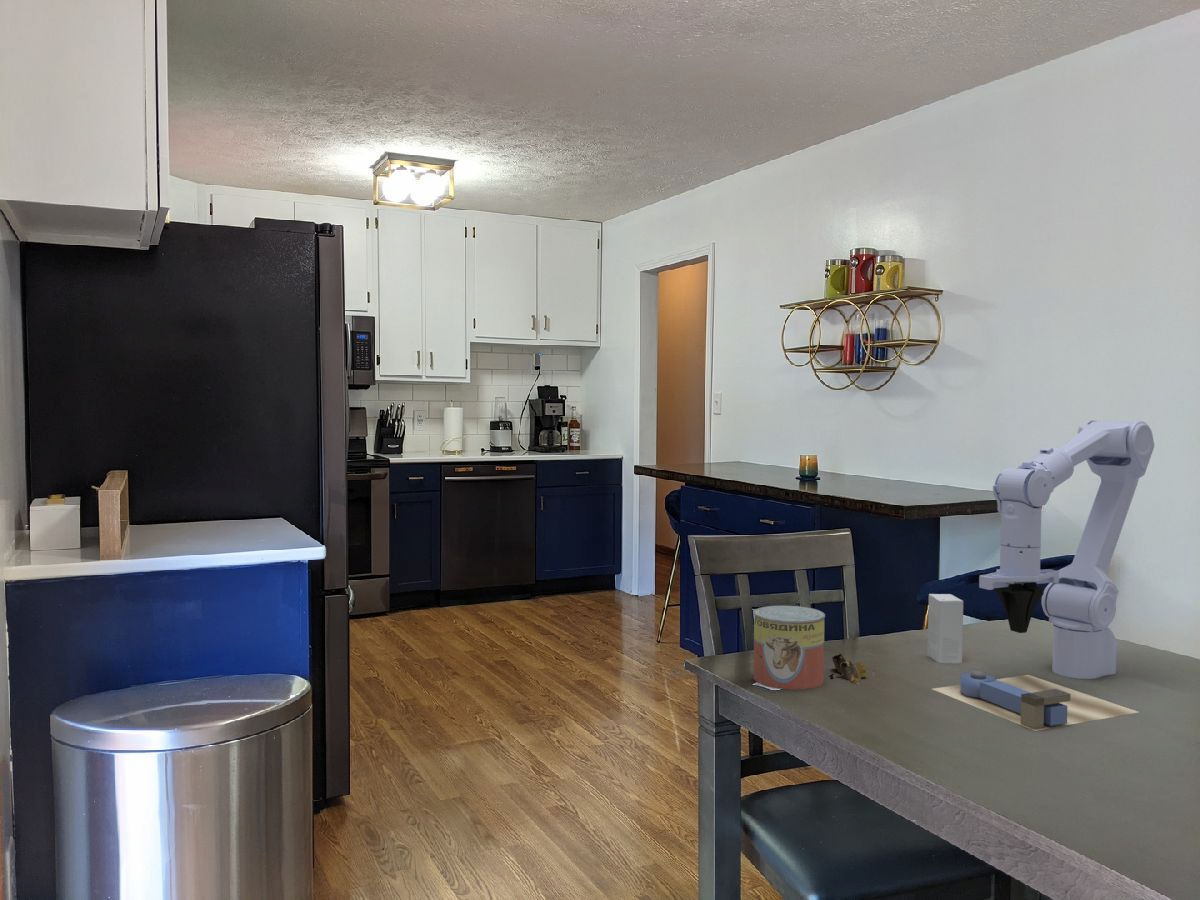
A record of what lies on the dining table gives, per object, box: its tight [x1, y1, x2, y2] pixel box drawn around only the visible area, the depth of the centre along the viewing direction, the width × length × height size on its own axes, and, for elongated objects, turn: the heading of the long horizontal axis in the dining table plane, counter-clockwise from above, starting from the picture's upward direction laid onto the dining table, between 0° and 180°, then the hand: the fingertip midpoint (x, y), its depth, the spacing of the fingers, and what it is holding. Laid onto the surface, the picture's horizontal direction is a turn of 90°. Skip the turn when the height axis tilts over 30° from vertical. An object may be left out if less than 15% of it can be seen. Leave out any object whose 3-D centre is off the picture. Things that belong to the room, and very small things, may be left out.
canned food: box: [753, 604, 826, 691], centre depth 150 cm, size 11×11×12 cm
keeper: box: [1020, 689, 1071, 731], centre depth 129 cm, size 6×2×5 cm, turn 112°
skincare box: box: [926, 593, 964, 664], centre depth 162 cm, size 6×4×12 cm
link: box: [959, 669, 1067, 726], centre depth 136 cm, size 18×5×3 cm, turn 21°
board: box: [931, 674, 1140, 732], centre depth 139 cm, size 20×20×1 cm
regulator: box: [829, 653, 868, 686], centre depth 149 cm, size 8×4×15 cm
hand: (1018, 631), depth 146 cm, fingers closed
